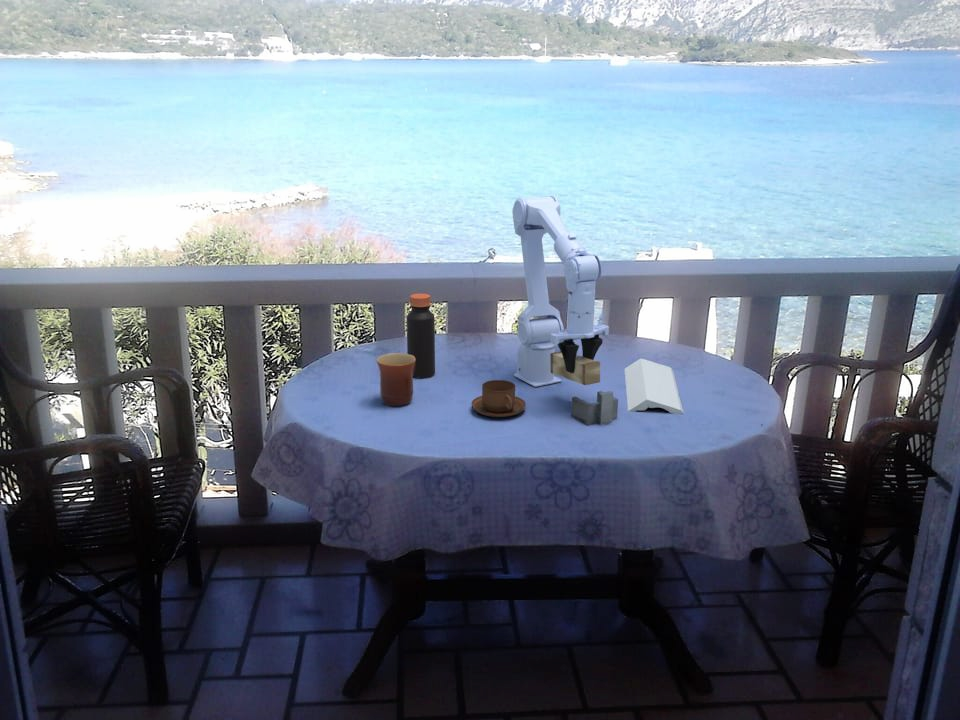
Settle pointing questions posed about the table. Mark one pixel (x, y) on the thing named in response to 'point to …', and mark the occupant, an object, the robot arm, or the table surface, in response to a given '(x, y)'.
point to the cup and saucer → (498, 399)
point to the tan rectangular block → (576, 369)
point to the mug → (396, 378)
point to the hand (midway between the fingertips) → (578, 370)
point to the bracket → (595, 409)
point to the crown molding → (651, 387)
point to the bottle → (421, 335)
